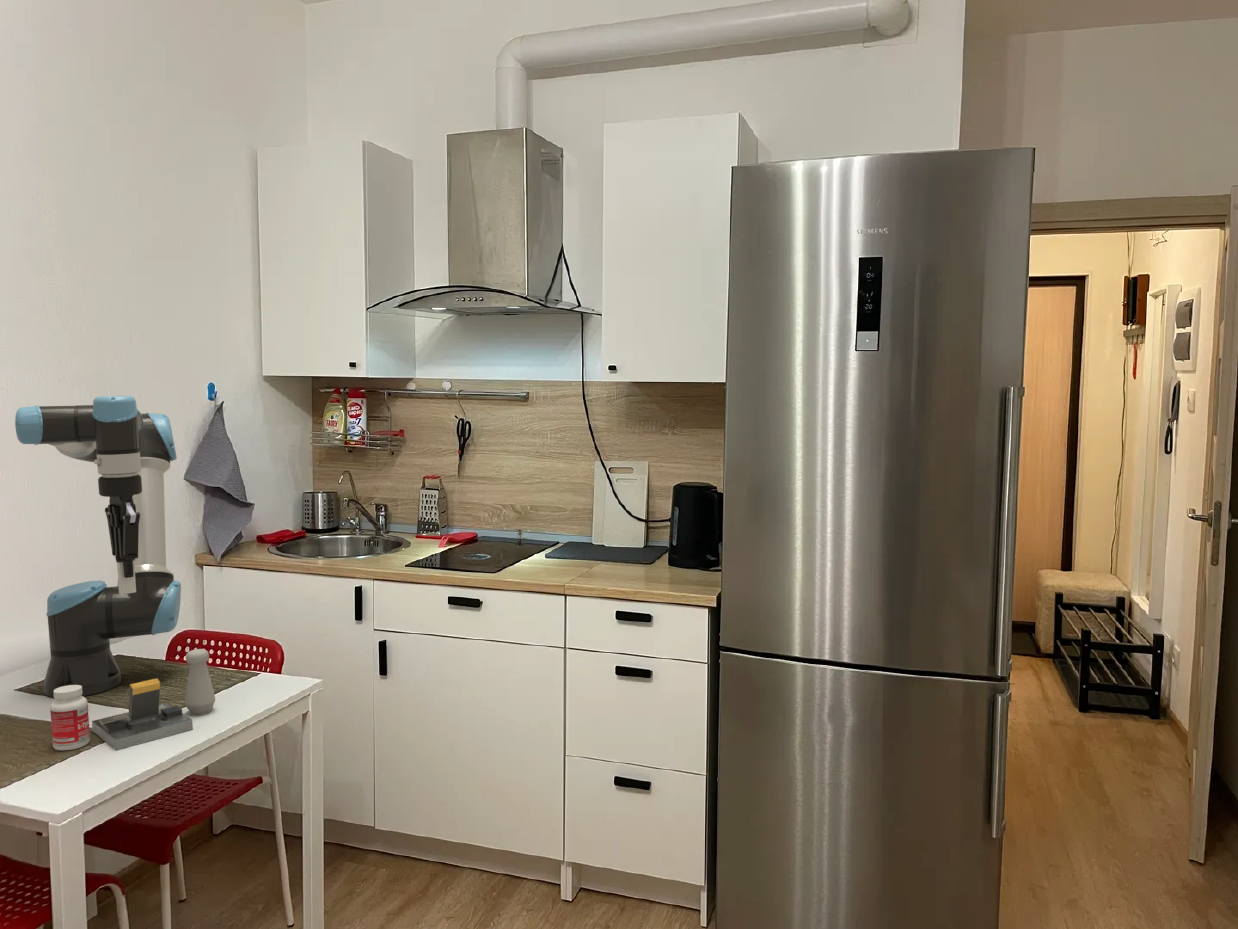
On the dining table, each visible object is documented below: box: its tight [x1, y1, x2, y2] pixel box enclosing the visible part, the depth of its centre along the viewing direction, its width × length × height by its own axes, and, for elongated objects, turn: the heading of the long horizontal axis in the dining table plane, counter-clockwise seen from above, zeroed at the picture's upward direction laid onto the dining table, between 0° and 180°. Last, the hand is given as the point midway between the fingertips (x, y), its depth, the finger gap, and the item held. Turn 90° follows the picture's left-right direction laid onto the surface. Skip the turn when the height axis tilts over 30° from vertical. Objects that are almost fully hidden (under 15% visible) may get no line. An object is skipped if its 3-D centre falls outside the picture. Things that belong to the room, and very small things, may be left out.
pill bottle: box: [49, 685, 91, 751], centre depth 179 cm, size 6×6×11 cm
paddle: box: [126, 677, 161, 724], centre depth 184 cm, size 2×6×8 cm, turn 136°
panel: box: [91, 702, 194, 751], centre depth 186 cm, size 14×14×3 cm
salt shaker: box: [184, 648, 216, 716], centre depth 196 cm, size 6×6×13 cm
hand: (127, 592), depth 188 cm, fingers closed
